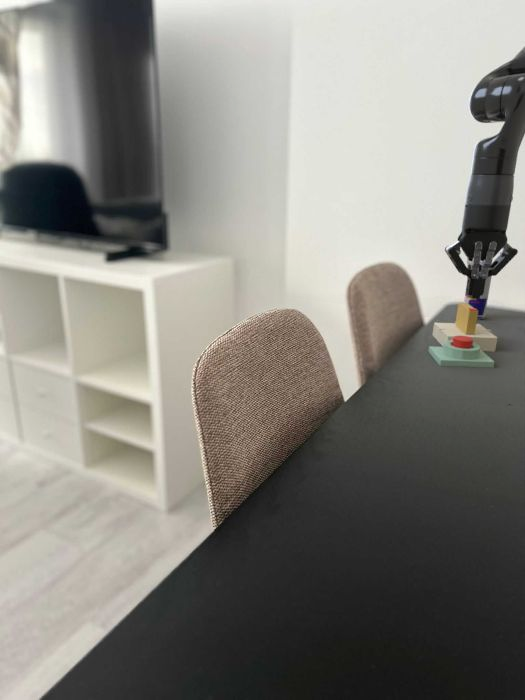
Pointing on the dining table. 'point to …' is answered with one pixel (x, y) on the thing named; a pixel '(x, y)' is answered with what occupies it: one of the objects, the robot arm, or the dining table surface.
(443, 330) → the panel
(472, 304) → the energy drink
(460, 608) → the dining table surface
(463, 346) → the button
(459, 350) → the button box
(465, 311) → the mustard yellow slab
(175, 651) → the dining table surface
